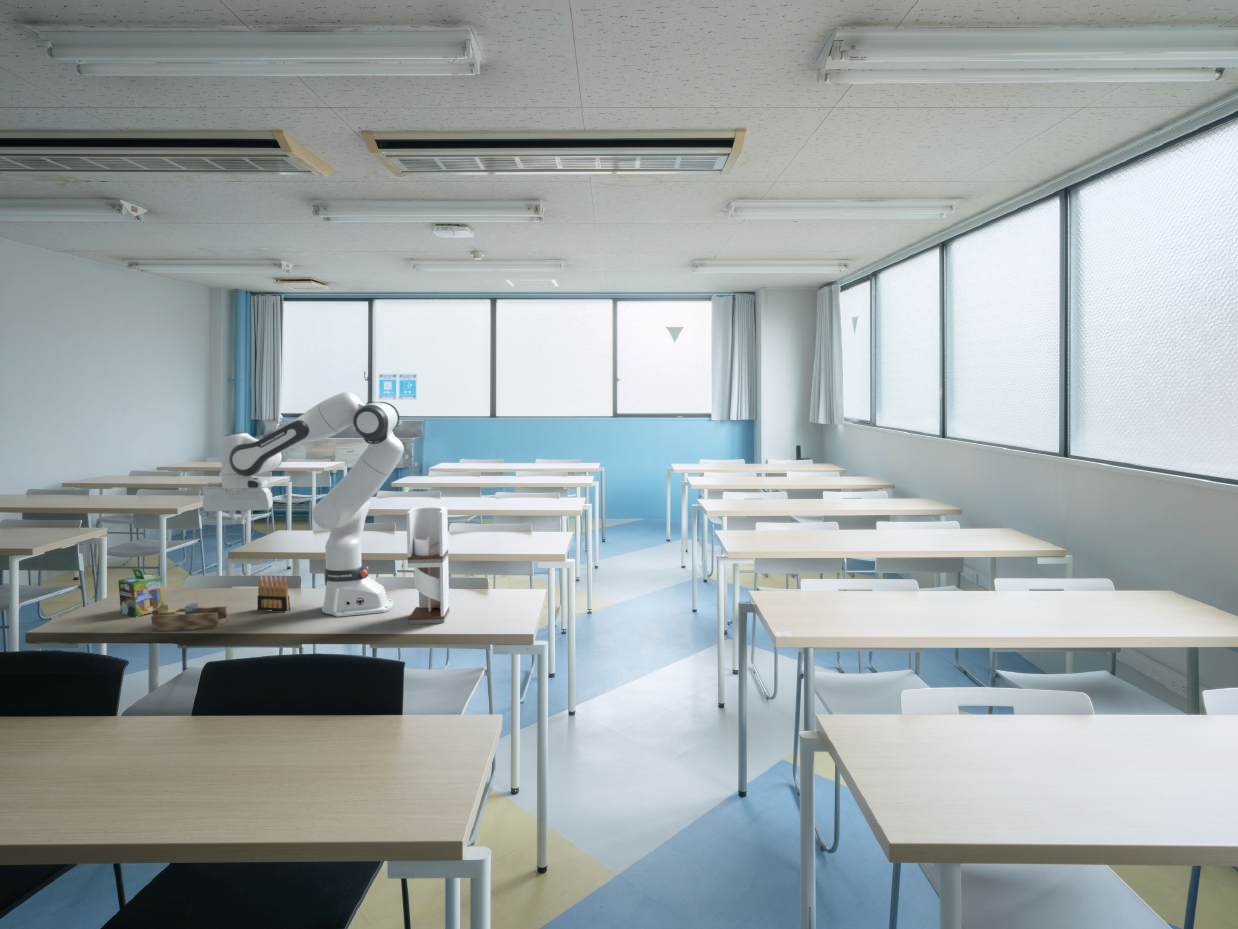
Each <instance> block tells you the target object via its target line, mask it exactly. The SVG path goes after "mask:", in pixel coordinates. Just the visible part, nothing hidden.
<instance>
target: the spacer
mask: <svg viewBox="0 0 1238 929" xmlns="http://www.w3.org/2000/svg"><path fill="white" fill-rule="evenodd" d="M181 608H182V607H179V608H178V607H177V608H175V609H174V608H168V609H165V610H164V611H162V612H160V615H176V614H177V613H179V612H181Z"/></svg>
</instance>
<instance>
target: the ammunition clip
mask: <svg viewBox="0 0 1238 929" xmlns="http://www.w3.org/2000/svg"><path fill="white" fill-rule="evenodd" d="M273 576H274V577H272V575H271V574H270V575H268V576H267V575H266V574H264V577H263V576H262V574H259V576H258V587H257V590H258V592H257V593H258V594H257V611H258V610H272V611H271V612H275V611H287V612H289V610H290V611H291V605H290V603H291V602H290V595H289V587H288V580H287V577H286V575H284V576H283V577H282V576H281V575H278V578H277V576H276V575H273ZM282 578H283V579H282Z"/></svg>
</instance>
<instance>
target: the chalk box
mask: <svg viewBox="0 0 1238 929" xmlns="http://www.w3.org/2000/svg"><path fill="white" fill-rule="evenodd" d="M132 572H133V574H134V576H131V577H126V578H122V579H119V580H118V592H119V593H118V594H119V604H120V608H119V609H120V614H121V613H123V614H122V615H125V614H127V615H126V616H129V615H130V616H129V617H132V616H135V617H134V618H137V617H136V616H139V615H142V616H145V615H144V614H146V615H149V614H148V613H150V614H153V613H152V612H153V610H155V609H156V608H158V607H160V606H162V605H165V599H164V588H163V577H162V576H161V575H154V574H143V572H142V570H141V569H140V568H135V567H133V568H132ZM138 573H139V574H138ZM139 617H140V616H139Z"/></svg>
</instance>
